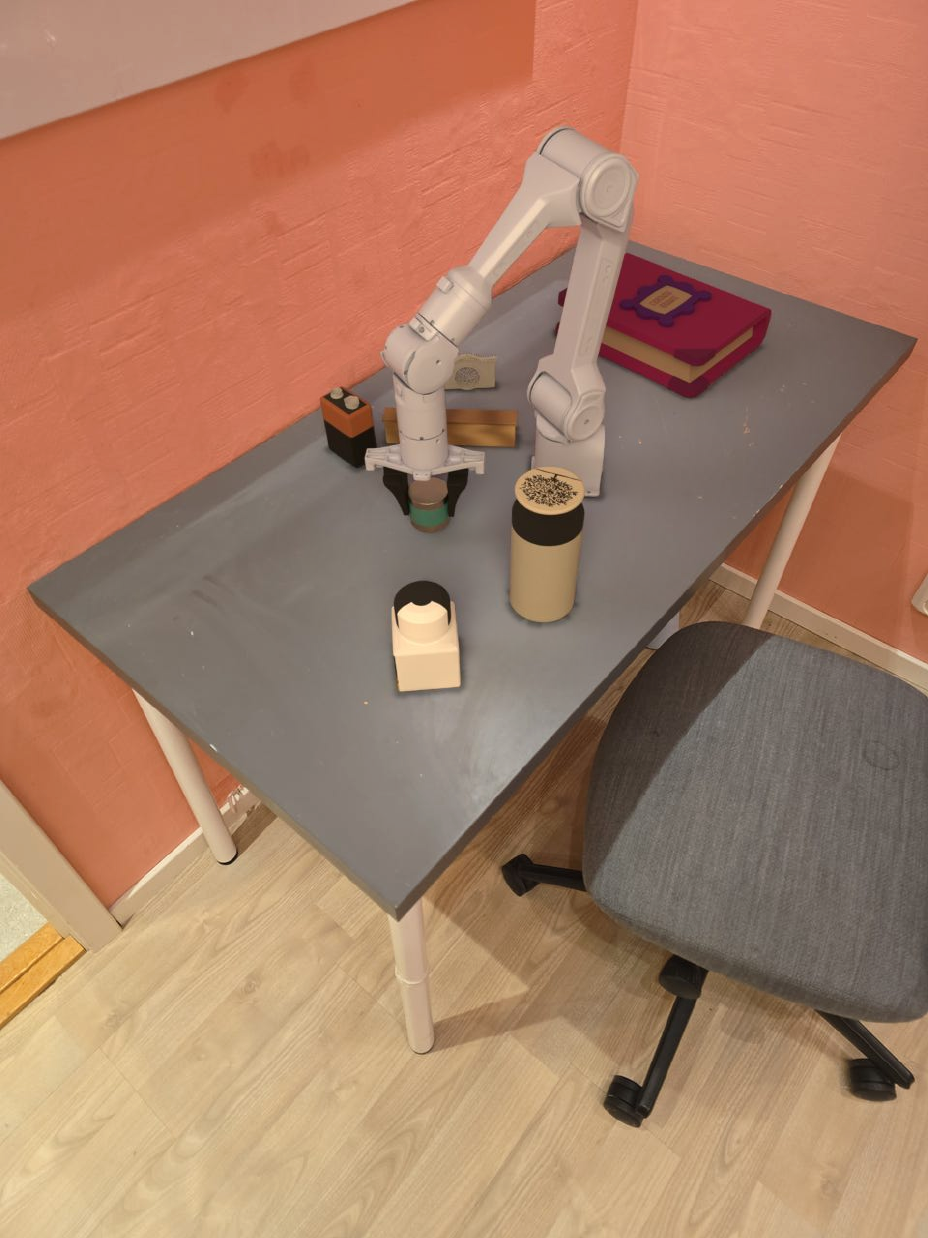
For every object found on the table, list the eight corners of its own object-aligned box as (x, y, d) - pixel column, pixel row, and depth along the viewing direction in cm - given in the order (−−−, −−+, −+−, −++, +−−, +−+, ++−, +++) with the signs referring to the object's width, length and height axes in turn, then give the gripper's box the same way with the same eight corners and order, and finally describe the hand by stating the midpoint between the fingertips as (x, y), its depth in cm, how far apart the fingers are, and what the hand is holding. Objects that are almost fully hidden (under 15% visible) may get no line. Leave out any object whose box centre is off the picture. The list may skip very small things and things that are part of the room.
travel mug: (555, 633, 100) (565, 523, 86) (497, 607, 103) (498, 497, 89) (585, 590, 104) (599, 479, 91) (529, 567, 107) (535, 455, 94)
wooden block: (517, 428, 126) (518, 404, 122) (516, 448, 123) (516, 423, 119) (389, 425, 127) (386, 400, 124) (384, 444, 124) (381, 419, 121)
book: (627, 286, 151) (632, 244, 146) (764, 343, 138) (776, 300, 133) (551, 334, 142) (554, 291, 136) (691, 400, 129) (701, 356, 123)
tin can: (452, 506, 111) (450, 477, 108) (448, 533, 108) (446, 504, 104) (412, 504, 112) (409, 475, 108) (408, 532, 108) (404, 503, 105)
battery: (356, 470, 120) (347, 412, 113) (327, 449, 124) (316, 391, 116) (379, 456, 122) (372, 398, 115) (350, 436, 125) (341, 378, 118)
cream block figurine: (396, 643, 100) (386, 575, 91) (456, 639, 100) (452, 569, 91) (398, 693, 95) (388, 625, 86) (461, 687, 95) (458, 620, 86)
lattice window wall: (420, 391, 132) (418, 358, 128) (420, 385, 133) (418, 352, 129) (496, 388, 132) (496, 355, 128) (496, 382, 133) (496, 349, 129)
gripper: (355, 445, 96) (369, 530, 107) (481, 448, 95) (483, 534, 106) (365, 407, 101) (377, 493, 111) (485, 410, 100) (486, 496, 110)
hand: (429, 511), depth 109 cm, fingers closed on tin can, 5 cm apart
